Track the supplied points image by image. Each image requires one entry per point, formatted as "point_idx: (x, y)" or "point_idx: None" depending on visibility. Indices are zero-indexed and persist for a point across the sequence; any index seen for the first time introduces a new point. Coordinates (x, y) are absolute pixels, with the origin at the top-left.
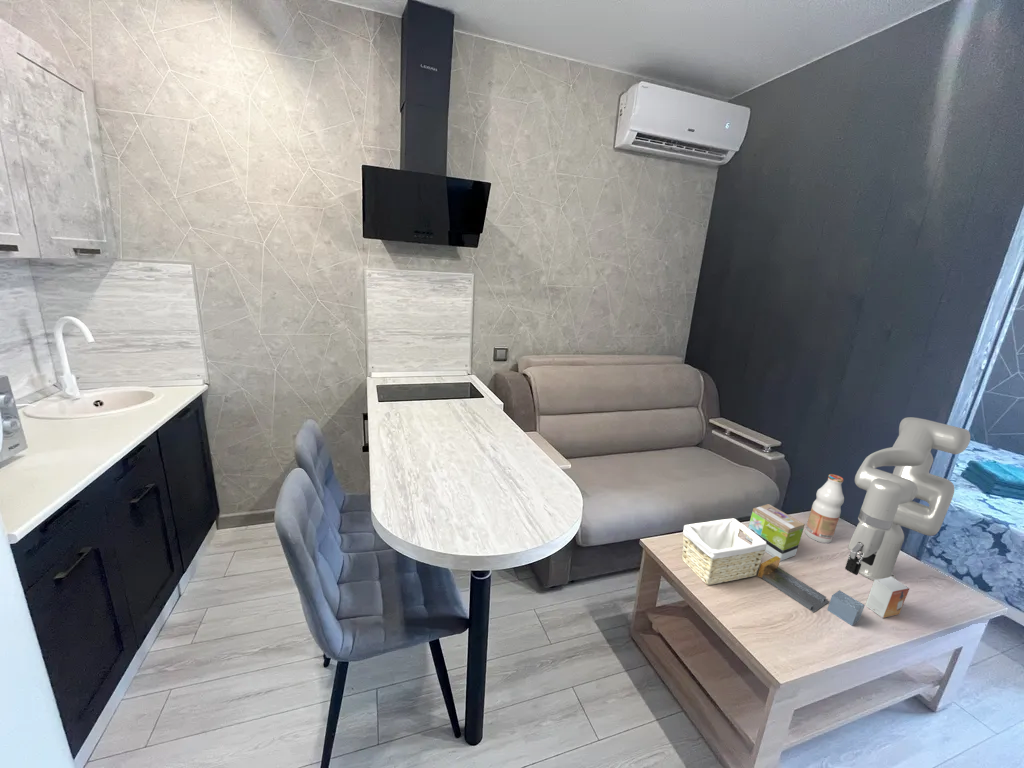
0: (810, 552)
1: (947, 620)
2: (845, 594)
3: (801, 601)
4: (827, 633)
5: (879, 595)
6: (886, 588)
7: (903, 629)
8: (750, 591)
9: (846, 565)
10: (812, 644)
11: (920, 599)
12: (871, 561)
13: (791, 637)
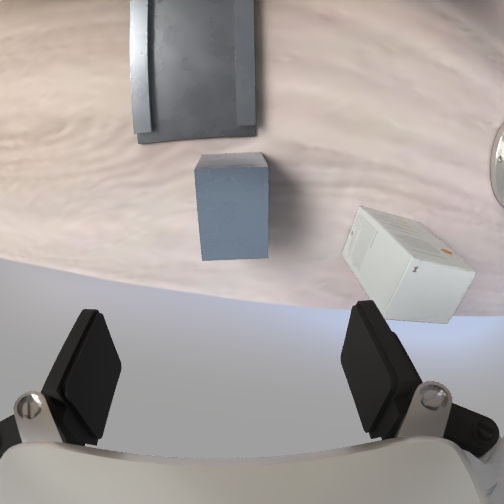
0: (471, 10)
1: (454, 312)
2: (262, 193)
3: (132, 100)
4: (98, 214)
5: (374, 262)
6: (389, 298)
7: (341, 294)
8: (39, 17)
9: (72, 332)
10: (31, 221)
11: (490, 262)
12: (350, 381)
13: (3, 187)
